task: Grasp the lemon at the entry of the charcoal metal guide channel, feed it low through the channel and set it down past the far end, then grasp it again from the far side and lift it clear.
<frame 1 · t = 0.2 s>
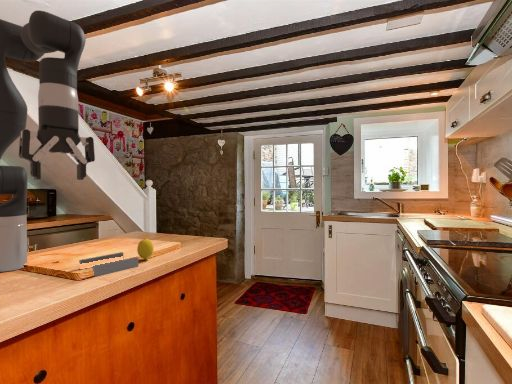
hand: (59, 179, 66), 29 cm above the counter, fingers open, 8 cm apart
guide channel: (109, 267, 96), on the counter
lemon: (145, 260, 106), on the counter
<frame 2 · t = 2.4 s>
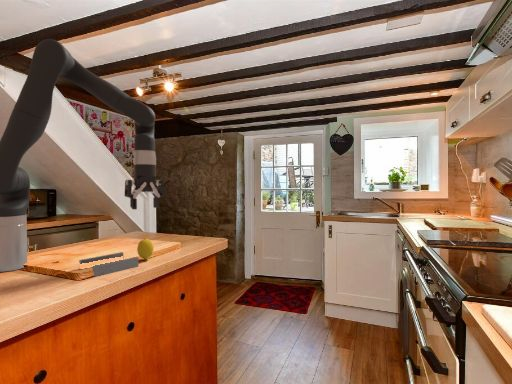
hand: (145, 208, 106), 19 cm above the counter, fingers open, 8 cm apart
nothing on the counter moved.
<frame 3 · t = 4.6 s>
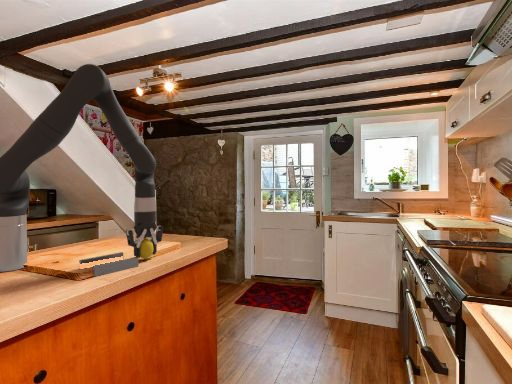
hand: (145, 255, 106), 2 cm above the counter, fingers closed on lemon, 5 cm apart
lemon: (145, 260, 106), on the counter, touching gripper
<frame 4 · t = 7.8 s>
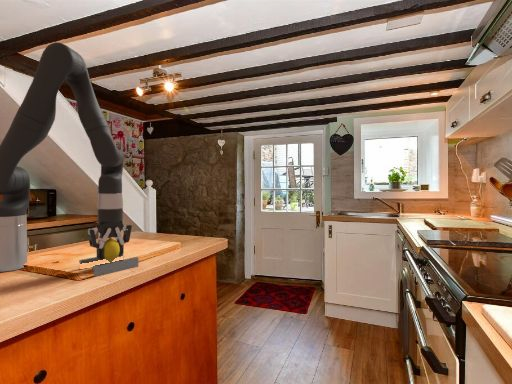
hand: (110, 257, 97), 3 cm above the counter, fingers closed on lemon, 5 cm apart
lemon: (110, 262, 97), point 2 cm above the counter, touching gripper
when the fingers open (2 cm above the counter, at t = 11.4 s): lemon stays where it is, on the counter.
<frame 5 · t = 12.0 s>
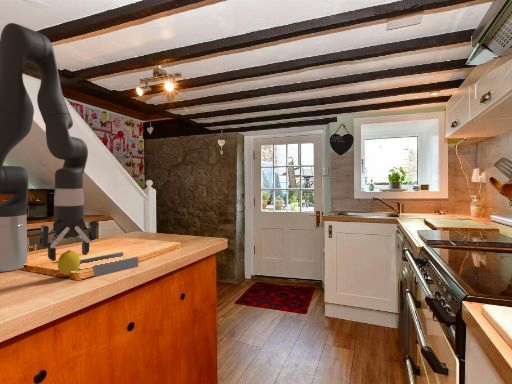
hand: (69, 257, 87), 6 cm above the counter, fingers open, 8 cm apart
lemon: (69, 277, 87), on the counter
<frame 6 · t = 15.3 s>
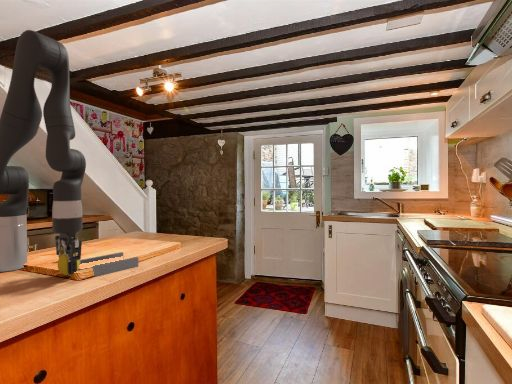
hand: (68, 271, 87), 2 cm above the counter, fingers closed on lemon, 5 cm apart
lemon: (69, 277, 87), on the counter, touching gripper
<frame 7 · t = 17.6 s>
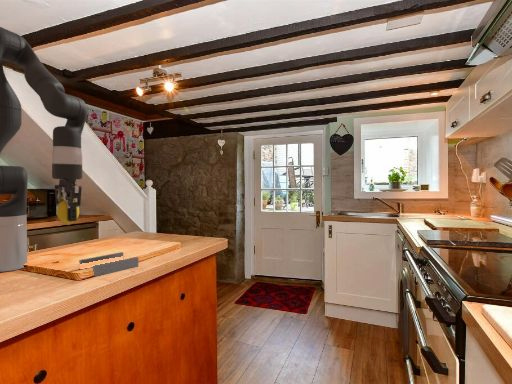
hand: (67, 219, 86), 17 cm above the counter, fingers closed on lemon, 5 cm apart
lemon: (68, 225, 87), point 15 cm above the counter, touching gripper
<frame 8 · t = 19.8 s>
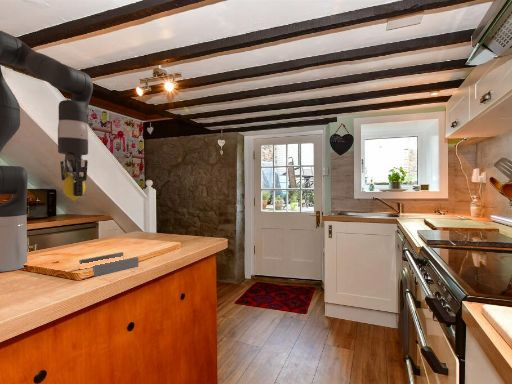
hand: (73, 195, 86), 24 cm above the counter, fingers closed on lemon, 5 cm apart
lemon: (74, 201, 86), point 23 cm above the counter, touching gripper
at the end: the gripper is holding lemon; lemon inside the target area (1.8 cm from its centre), point 22.7 cm above the counter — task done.
